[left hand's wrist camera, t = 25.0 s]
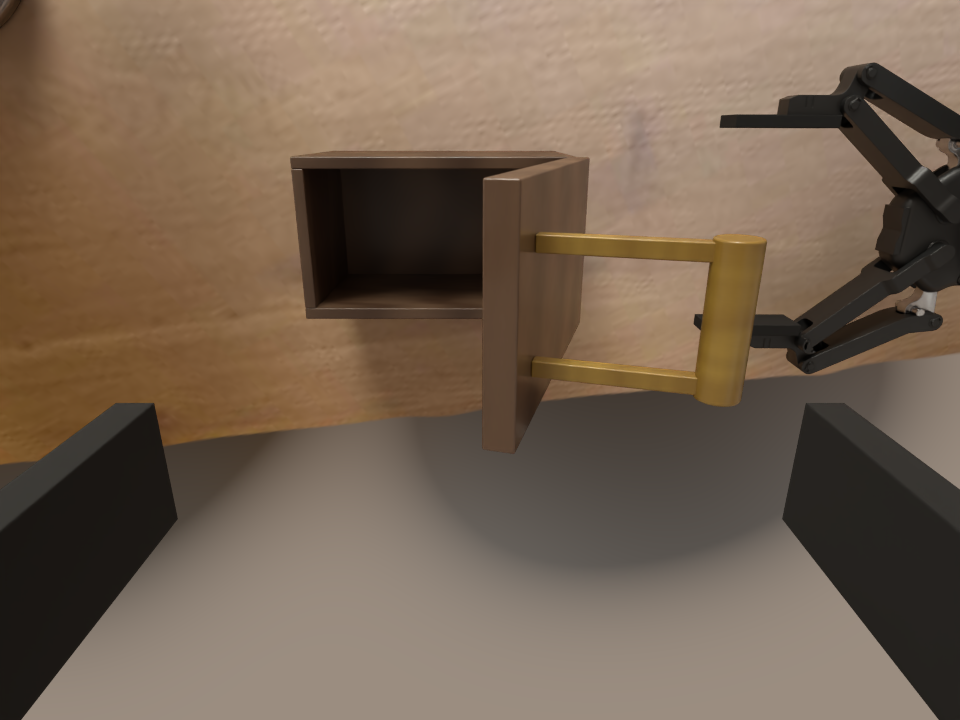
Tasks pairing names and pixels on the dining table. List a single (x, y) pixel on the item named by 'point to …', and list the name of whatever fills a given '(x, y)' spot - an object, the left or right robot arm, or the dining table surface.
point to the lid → (557, 299)
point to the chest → (396, 230)
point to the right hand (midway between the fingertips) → (712, 228)
